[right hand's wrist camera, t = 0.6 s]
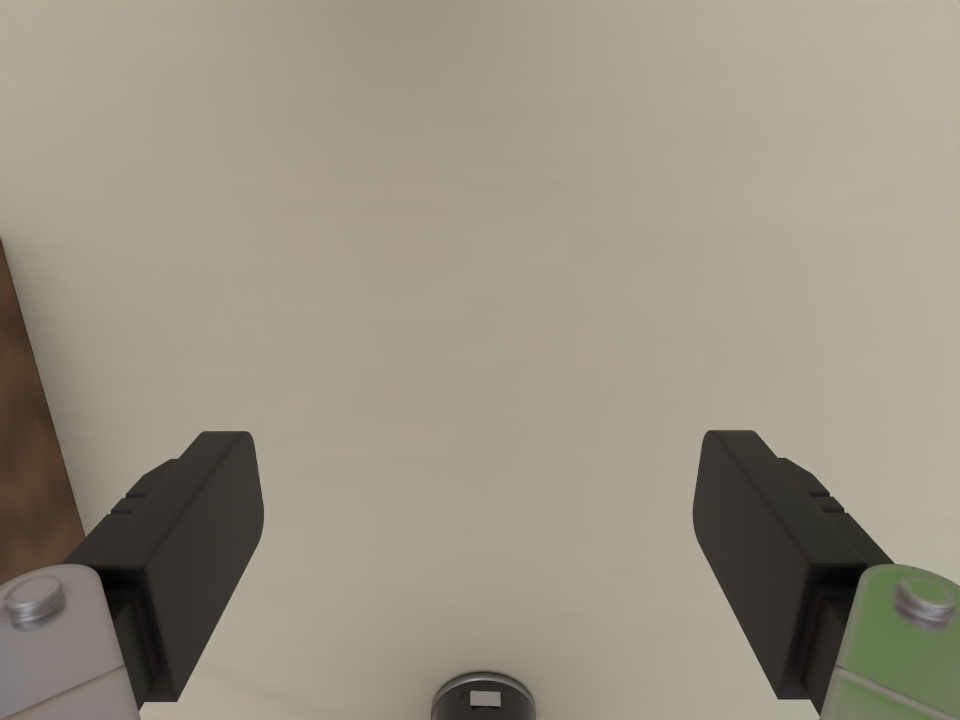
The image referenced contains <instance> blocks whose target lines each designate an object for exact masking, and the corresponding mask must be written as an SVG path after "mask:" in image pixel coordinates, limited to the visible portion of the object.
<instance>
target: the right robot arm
mask: <svg viewBox="0 0 960 720" xmlns="http://www.w3.org/2000/svg"><path fill="white" fill-rule="evenodd" d="M263 523H264V506H263V499H262V492H261V486H260V479H259V472H258V466H257V459H256V452H255V446H254V441H253V438H252V436H251V434H250V433H249V432H247V431H204V432H202V433H201V434H200V435H199V436H198V437H197V438H196V439H195V440H194V441H193V443H192V444H191V445H190V446H189V447H188V448H187V449H186V451H185V452H184V453H183V454H182V455H181V456H180V458H179V459H170V460H168V461H167V462H165V463H163V464H162V465H160V466H158V467H156V468H155V469H153V470H151V471H150V472H148V473H146V474H145V475H143V476H142V477H141V478H140V480H139V481H138V482H137V483H136V484H135V485H134V486H133V487H132V488H131V489H130V490H129V491H128V493H127V494H126V498H122V499H121V500H120V501H119V502H118V503H117V504H116V505H115V507H114V508H113V509H112V510H111V514H107V515H106V516H105V517H104V518H103V520H102V521H101V522H100V523H99V524H98V525H97V526H96V527H95V528H94V529H93V530H92V531H91V532H90V534H89V535H88V536H87V537H86V538H85V539H84V540H83V541H82V542H81V543H80V544H79V545H78V546H77V548H76V549H75V550H74V551H73V552H72V553H71V554H70V555H69V556H68V557H67V558H66V559H65V561H64V562H63V563H62V564H61V565H53V566H49V567H44V568H40V569H37V570H34V571H31V572H28V573H26V574H23V575H20V576H18V577H16V578H14V579H12V580H10V581H8V582H6V583H5V584H3V585H1V586H0V720H141V719H140V715H139V711H140V709H141V707H142V705H143V704H144V702H177V701H178V699H179V697H180V695H181V693H182V691H183V689H184V687H185V685H186V683H187V681H188V680H189V678H190V676H191V674H192V672H193V670H194V668H195V666H196V664H197V662H198V660H199V658H200V656H201V654H202V652H203V650H204V648H205V646H206V644H207V643H208V641H209V639H210V637H211V635H212V633H213V631H214V629H215V627H216V625H217V623H218V621H219V619H220V617H221V615H222V613H223V611H224V609H225V607H226V606H227V604H228V602H229V600H230V598H231V596H232V594H233V592H234V590H235V588H236V586H237V584H238V582H239V580H240V578H241V576H242V574H243V572H244V571H245V569H246V567H247V565H248V563H249V561H250V559H251V557H252V555H253V553H254V551H255V549H256V547H257V545H258V543H259V541H260V538H261V534H262V530H263ZM693 524H694V530H695V534H696V537H697V540H698V543H699V545H700V547H701V549H702V551H703V552H704V554H705V556H706V558H707V560H708V562H709V564H710V566H711V568H712V570H713V572H714V574H715V576H716V578H717V580H718V582H719V584H720V586H721V588H722V590H723V592H724V594H725V596H726V598H727V600H728V602H729V604H730V606H731V608H732V610H733V612H734V614H735V616H736V618H737V619H738V621H739V623H740V625H741V627H742V629H743V631H744V633H745V635H746V637H747V639H748V641H749V643H750V645H751V647H752V649H753V651H754V653H755V655H756V657H757V659H758V661H759V663H760V665H761V667H762V669H763V671H764V673H765V675H766V677H767V679H768V681H769V683H770V685H771V687H772V688H773V690H774V692H775V694H776V696H777V698H778V699H810V700H811V702H812V703H813V705H814V707H815V709H816V710H817V712H818V714H819V716H820V719H819V720H960V586H959V585H957V584H955V583H954V582H952V581H950V580H948V579H946V578H944V577H942V576H940V575H937V574H934V573H932V572H929V571H926V570H923V569H920V568H916V567H911V566H907V565H899V564H894V562H893V561H892V560H891V559H890V558H889V557H888V556H887V555H886V554H885V553H884V552H883V550H882V549H881V548H880V547H879V546H878V545H877V544H876V543H875V542H874V541H873V540H872V538H871V537H870V536H869V535H868V534H867V533H866V532H865V531H864V530H863V529H862V528H861V526H860V525H859V524H858V523H857V522H856V521H855V520H854V519H853V518H852V517H851V516H850V514H849V513H845V512H844V508H843V507H842V506H841V505H840V504H839V503H838V501H837V500H836V499H835V498H834V497H830V493H829V492H828V491H827V489H826V488H825V487H824V486H823V485H822V484H821V483H820V482H819V481H818V480H817V479H816V477H815V476H814V475H813V474H811V473H810V472H808V471H806V470H805V469H803V468H801V467H800V466H798V465H796V464H795V463H793V462H791V461H790V460H788V459H786V458H777V456H776V455H775V454H774V453H773V452H772V451H771V450H770V448H769V447H768V446H767V445H766V444H765V443H764V441H763V440H762V439H761V438H760V437H759V436H758V434H757V433H756V432H754V431H752V430H709V431H708V432H707V433H706V434H705V436H704V439H703V443H702V449H701V455H700V462H699V469H698V476H697V482H696V489H695V496H694V503H693ZM431 720H536V711H535V704H534V701H533V698H532V696H531V695H530V693H529V692H528V691H527V689H526V688H525V687H523V686H522V685H521V684H520V683H518V682H516V681H515V680H513V679H511V678H508V677H506V676H502V675H498V674H492V673H475V674H469V675H465V676H462V677H459V678H456V679H454V680H452V681H451V682H449V683H448V684H446V685H445V686H444V687H443V688H442V689H441V690H440V691H439V692H438V693H437V695H436V696H435V698H434V701H433V704H432V711H431Z"/></svg>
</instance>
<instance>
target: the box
mask: <svg viewBox="0 0 960 720" xmlns="http://www.w3.org/2000/svg"><path fill="white" fill-rule="evenodd" d="M84 539H85V536H84V532H83V529H82V525H81V522H80V518H79V515H78V511H77V508H76V504H75V501H74V497H73V494H72V490H71V487H70V483H69V480H68V476H67V473H66V469H65V466H64V462H63V459H62V455H61V452H60V448H59V445H58V441H57V437H56V434H55V430H54V427H53V423H52V420H51V416H50V413H49V409H48V406H47V402H46V399H45V395H44V392H43V388H42V385H41V381H40V378H39V374H38V371H37V367H36V364H35V360H34V357H33V353H32V350H31V346H30V343H29V339H28V336H27V332H26V329H25V325H24V322H23V318H22V315H21V311H20V308H19V304H18V301H17V297H16V294H15V290H14V286H13V283H12V279H11V276H10V272H9V269H8V265H7V262H6V258H5V255H4V251H3V248H2V244H1V241H0V586H1V585H3V584H5V583H6V582H8V581H10V580H12V579H14V578H16V577H18V576H20V575H23V574H26V573H28V572H31V571H34V570H37V569H40V568H44V567H49V566H53V565H61V564H62V563H63V562H64V561H65V559H66V558H67V557H68V556H69V555H70V554H71V553H72V552H73V551H74V550H75V549H76V548H77V546H78V545H79V544H80V543H81V542H82V541H83V540H84Z"/></svg>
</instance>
